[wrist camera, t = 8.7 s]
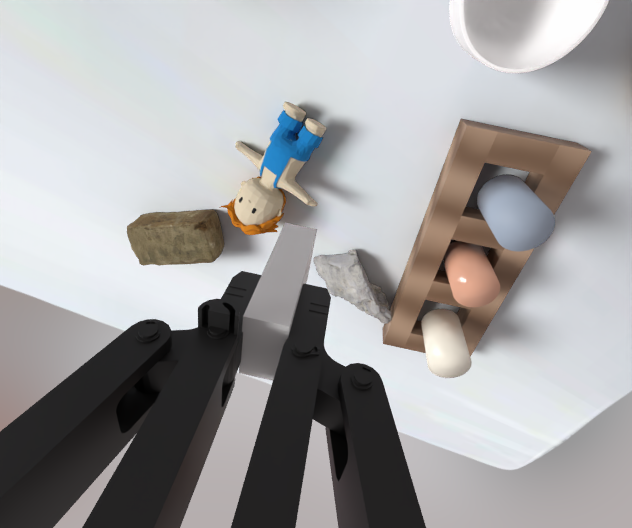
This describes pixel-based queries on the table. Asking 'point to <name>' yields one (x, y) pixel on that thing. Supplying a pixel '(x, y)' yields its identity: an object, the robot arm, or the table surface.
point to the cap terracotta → (470, 274)
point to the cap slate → (515, 213)
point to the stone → (352, 283)
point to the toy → (275, 173)
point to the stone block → (176, 237)
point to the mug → (522, 30)
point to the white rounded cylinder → (445, 344)
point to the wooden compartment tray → (475, 223)
